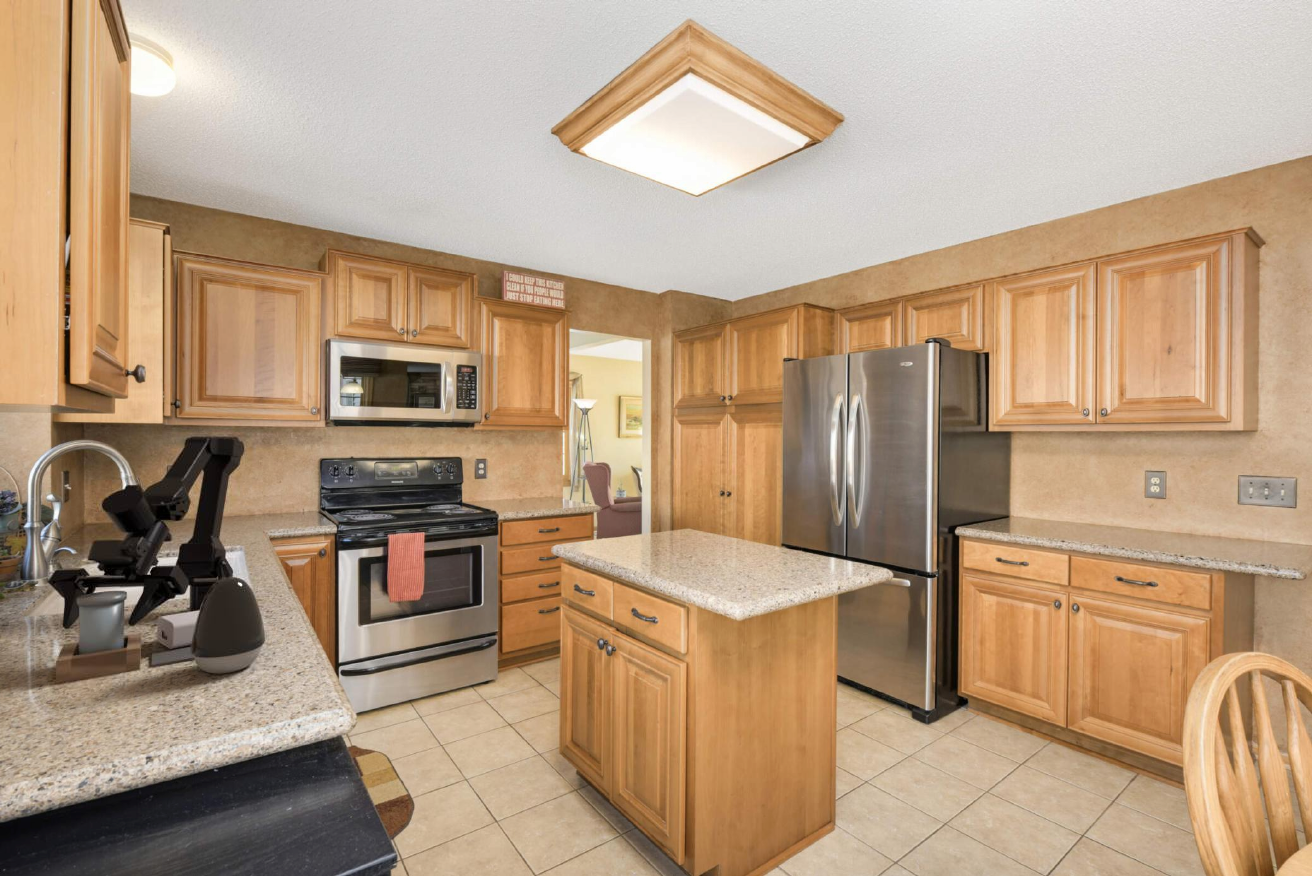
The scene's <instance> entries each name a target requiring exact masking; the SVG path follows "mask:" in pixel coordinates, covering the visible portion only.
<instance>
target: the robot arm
mask: <svg viewBox="0 0 1312 876" xmlns="http://www.w3.org/2000/svg"><path fill="white" fill-rule="evenodd" d="M244 453H245V444H244V442H243V441H241V440H240V439H239V438H238V437H237V436H223V435H222V436H221V435H220V436H219V435H218V436H215V435H214V436H213V435H212V436H211V435H210V436H207V435H206V436H205V435H202V436H201V435H199V436H198V435H197V436H196V435H193V436H190V437H187V438H186V439H185V441H184V447H183V449H182V450H181V452H180V453H179V455H178V456H177V457H176V459H175V460H174V462H173V463H172V465H171V466H170V468H169V469H168V471H167V472H166V473H165V475H164V476H163V477H162V479H161V480H160V481H158V482H155V483H153V484H151V485H149V486H148V487H146V489H145V490H144V491H143V489H142V487H141V485H140V484H126V485H125V487H124V488H123V489H119V490H117V491H115V492H112V493H111V494H110V495H108V496H106V497H105V498H104V499H103V500H102V502H101V509H102V510H103V512H104V513H105V514H106V515H107V517H108V518H109V519H110V521H111V522H112V523H113V525H114V526H115V528H116V529H117V530H118V531H120V532H121V533H126V534H125V535H124V537H123V539H110V540H109V539H104V540H103V539H100V540H93V541H92V544H91V546H90V549H89V554H88V556H87V561H93V562H95V563H98V564H97V567H96V568H97V569H98V570H99V571H100V572H103V574H101V575H100V574H98V575H95V574H94V575H93V574H92V575H90V574H89V572H88V571H87V570H86V569H85V568H84V567H77V568H71V567H70V568H58V569H56V570H54V571H53V573H52V574H51V575H50V576H49V578H48V580H47V582H48V584H49V585H50V586H51V587H52V588H53V590H55V591H56V592H57V593H58V594H59V595H60V597H62V598H63V599H64V601H63V603H64V606H63V617H62V627H63V628H64V630H69V629H70V628H71V627H72V626H73V625H74V624H75V623H76V622H77V620H78V619H79V606H78V605H77V598H78V597H80V596H82V595H86V594H91V593H95V591H96V590H97V589H96V588H141V587H142V594H141V595H140V597H139V598H138V600H137V602H136V604H135V606H134V608H133V610H132V612H131V614H130V616H129V619H128V622H127V624H128V626H129V627H134V626H135V625H136V624H138V623H139V622H141V620H143V619H144V618H145V617H147V616H148V615H150V613H151V612H153V611H154V610H156V609H157V608H158V607H160V606H161V605H162V604H163V605H164V604H165V602H168V601H169V600H172V599H175V598H176V596H182V595H185V594H186V592H187V590H188V588H189V607H186V612H192V611H199V610H200V608H201V605H202V603H203V600H204V598H205V596H206V595H207V593H208V591H209V590H210V588H211V587H212V586H213V585H214V584H215V583H216V582H217V581H219V580H220V579H221V578H222V577H226V578H227V577H234V569H233V568H232V566H231V565H230V563H229V561H228V560H227V558H226V557H227V556H226V553H227V549H225V546H224V545H223V543H222V541H221V539H220V538H221V537H220V536H221V530H222V529H221V528H222V524H223V517H224V511H225V505H226V498H227V492H228V485H229V481H230V476H231V475H232V474H233V472H234V471H235V470H237V469H238V467H239V466H240V465H241V460H242V457H243V455H244ZM202 472H203V474H202V481H201V486H200V491H199V492H200V493H199V498H198V503H197V508H196V509H197V510H196V514H195V515H196V516H195V519H194V527H193V533H192V537H190V539H189V540H188V541H187V542H185V543H181V545H180V546H178V547H179V549H178V556H177V559H176V563H175V565H158V564H159V561H160V560H159V559H158V554H159V552H160V550H161V548H162V546H163V544H164V542H165V543H166V542H167V543H168V542H169V543H170V542H172V541H173V540H172V539H173V536H172V534H171V532H170V528H169V527H168V525H167V524H166V523H165V522H179V521H182V520H184V518H185V516H186V515H187V514H188V512H189V508H190V505H191V503H192V501H191V498H190V495H189V493H190V491H191V489H192V488H193V486H194V485H195V482H196V481H197V479H198V478H199V476H200V475H201V473H202Z"/></svg>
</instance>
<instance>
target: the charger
mask: <svg viewBox="0 0 1312 876" xmlns="http://www.w3.org/2000/svg"><path fill="white" fill-rule="evenodd" d="M199 611H200V610H199ZM199 611H192V612H187V611H186V612H180V613H174V614H168V615H163V616H159V617H157V622H156V623H157V628H156V640H157V641H158V643H159V644H162V645H163V646H165V647H167V648H168V649H169V650H174V649H179V648H184V647H189V646H191V641H192V636H193V631H194V627H195V623H196V620H197V617H198V614H199Z"/></svg>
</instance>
